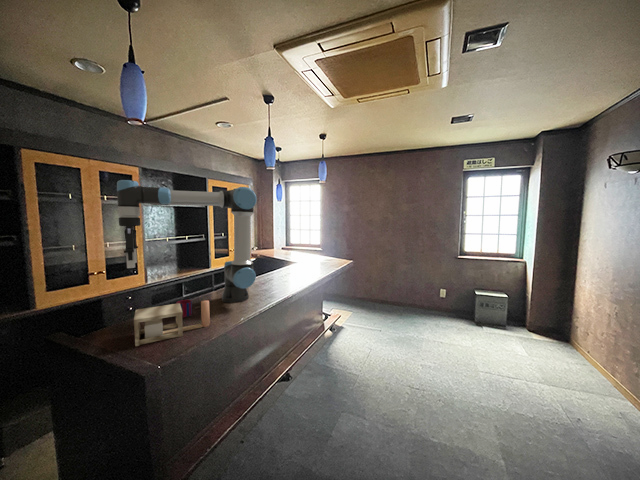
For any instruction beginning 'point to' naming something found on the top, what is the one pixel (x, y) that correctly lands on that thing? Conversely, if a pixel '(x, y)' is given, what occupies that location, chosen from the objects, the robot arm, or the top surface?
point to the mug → (186, 307)
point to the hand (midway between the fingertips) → (132, 265)
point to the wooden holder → (158, 313)
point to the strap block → (156, 328)
